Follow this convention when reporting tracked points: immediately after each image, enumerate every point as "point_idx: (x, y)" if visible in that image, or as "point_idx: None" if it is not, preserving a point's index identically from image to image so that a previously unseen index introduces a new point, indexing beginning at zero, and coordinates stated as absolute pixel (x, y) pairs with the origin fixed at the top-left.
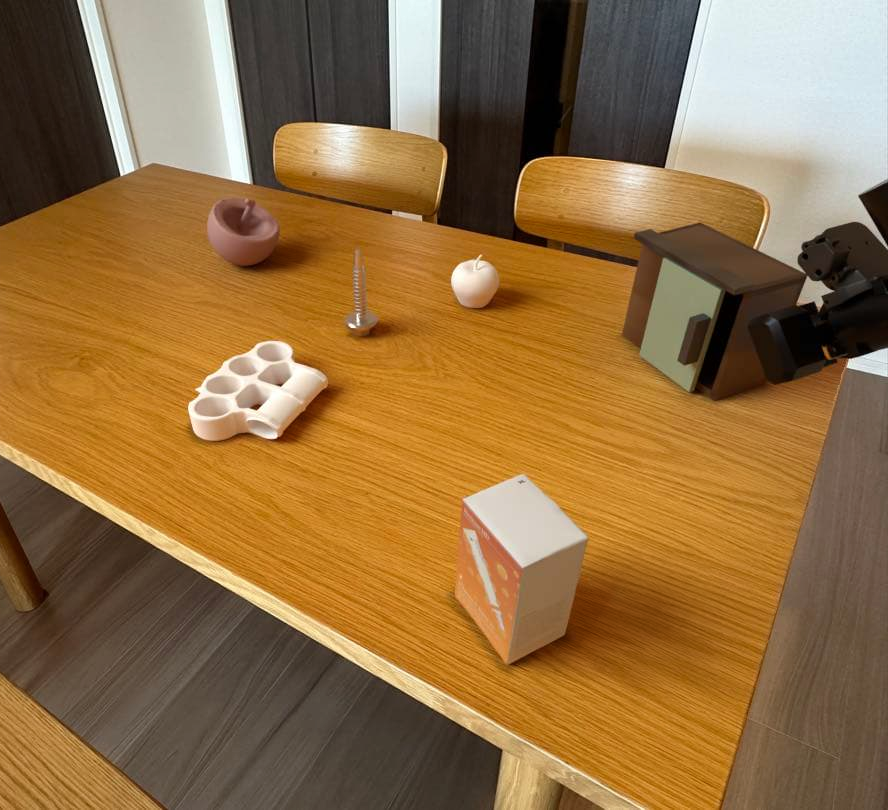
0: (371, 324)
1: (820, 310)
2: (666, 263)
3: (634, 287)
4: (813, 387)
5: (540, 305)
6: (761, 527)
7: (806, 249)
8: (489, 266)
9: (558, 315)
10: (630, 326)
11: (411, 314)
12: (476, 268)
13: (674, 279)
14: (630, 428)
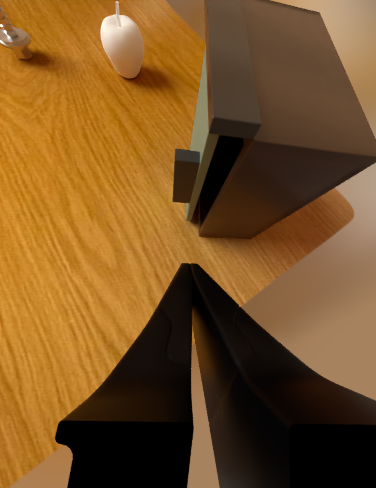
0: (14, 44)
1: (280, 427)
2: None
3: None
4: (281, 259)
5: (170, 97)
6: (100, 385)
7: None
8: (130, 27)
9: (172, 110)
10: None
11: (76, 60)
12: (118, 24)
13: (203, 80)
14: (111, 231)
